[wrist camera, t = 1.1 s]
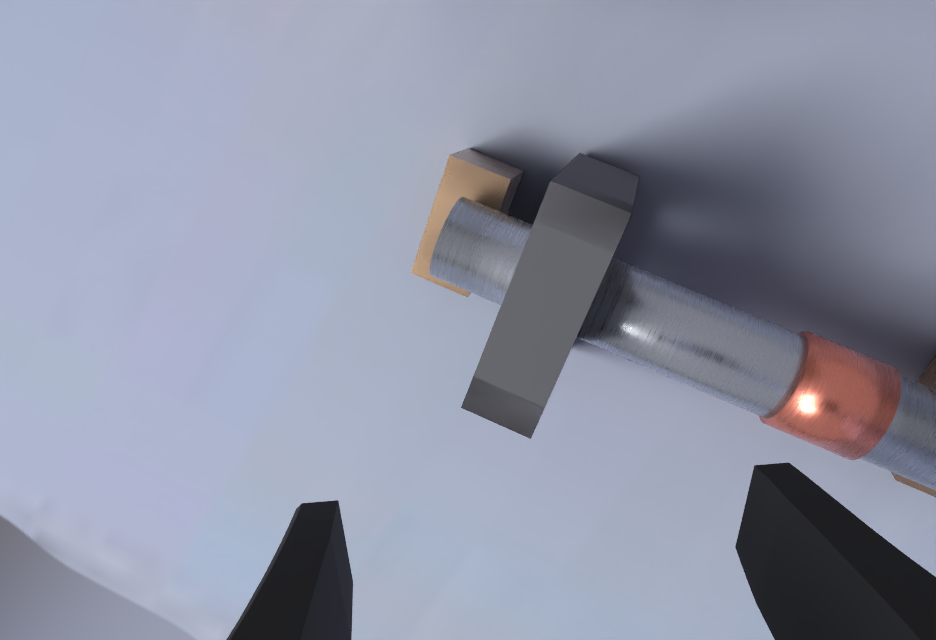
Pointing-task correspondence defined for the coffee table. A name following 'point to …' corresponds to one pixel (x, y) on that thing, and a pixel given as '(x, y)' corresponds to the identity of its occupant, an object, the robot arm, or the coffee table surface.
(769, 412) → the pipe
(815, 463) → the coffee table surface
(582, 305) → the grey square collar
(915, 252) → the coffee table surface
